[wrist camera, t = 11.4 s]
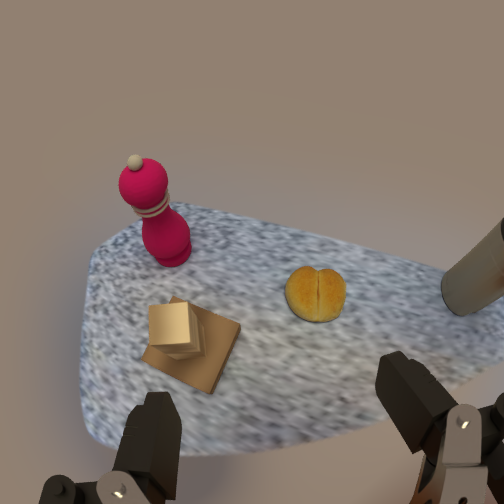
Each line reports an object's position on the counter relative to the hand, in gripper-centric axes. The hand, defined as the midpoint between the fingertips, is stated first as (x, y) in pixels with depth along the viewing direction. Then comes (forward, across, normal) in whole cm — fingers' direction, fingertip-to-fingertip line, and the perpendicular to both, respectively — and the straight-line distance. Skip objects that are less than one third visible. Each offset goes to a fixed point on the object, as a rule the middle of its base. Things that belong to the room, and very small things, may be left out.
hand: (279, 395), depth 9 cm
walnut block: (+25, +8, +14) cm, 30 cm away
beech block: (+22, +8, +12) cm, 27 cm away
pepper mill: (+36, +11, +3) cm, 38 cm away
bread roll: (+29, -10, +11) cm, 33 cm away
